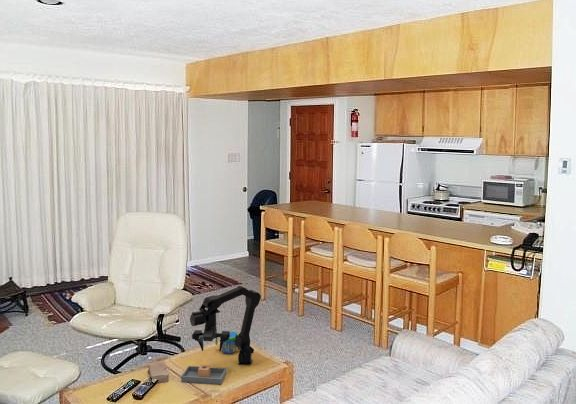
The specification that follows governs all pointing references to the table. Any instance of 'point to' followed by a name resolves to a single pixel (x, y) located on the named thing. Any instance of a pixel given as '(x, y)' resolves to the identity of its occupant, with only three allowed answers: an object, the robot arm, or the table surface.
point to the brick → (158, 371)
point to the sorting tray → (215, 377)
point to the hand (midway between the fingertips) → (211, 350)
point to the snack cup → (229, 343)
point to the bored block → (204, 371)
